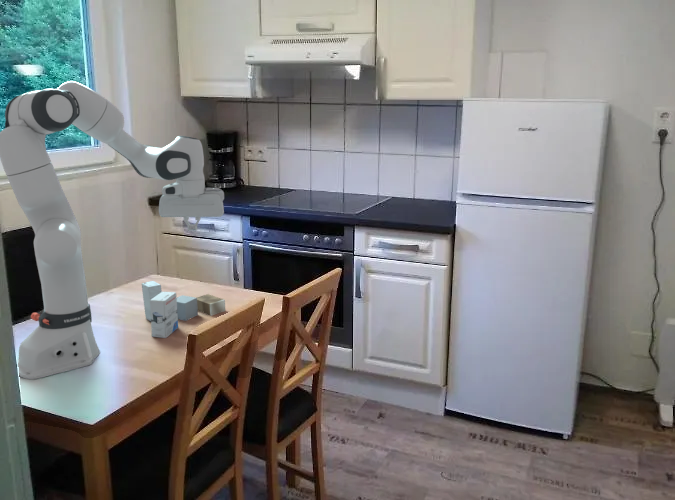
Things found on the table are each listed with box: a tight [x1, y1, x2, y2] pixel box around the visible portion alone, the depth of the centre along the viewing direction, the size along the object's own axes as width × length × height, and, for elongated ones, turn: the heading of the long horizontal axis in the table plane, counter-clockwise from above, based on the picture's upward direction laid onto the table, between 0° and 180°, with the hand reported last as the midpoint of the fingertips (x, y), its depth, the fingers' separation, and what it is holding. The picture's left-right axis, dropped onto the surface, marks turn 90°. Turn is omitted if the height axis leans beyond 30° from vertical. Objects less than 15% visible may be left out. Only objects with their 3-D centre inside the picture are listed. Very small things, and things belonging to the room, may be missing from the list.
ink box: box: [150, 291, 179, 339], centre depth 190 cm, size 9×5×12 cm, turn 168°
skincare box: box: [141, 280, 163, 322], centre depth 201 cm, size 6×4×12 cm
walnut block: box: [196, 293, 226, 316], centre depth 210 cm, size 6×4×9 cm
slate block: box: [176, 294, 199, 322], centre depth 204 cm, size 6×6×6 cm
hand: (192, 230), depth 203 cm, fingers closed
